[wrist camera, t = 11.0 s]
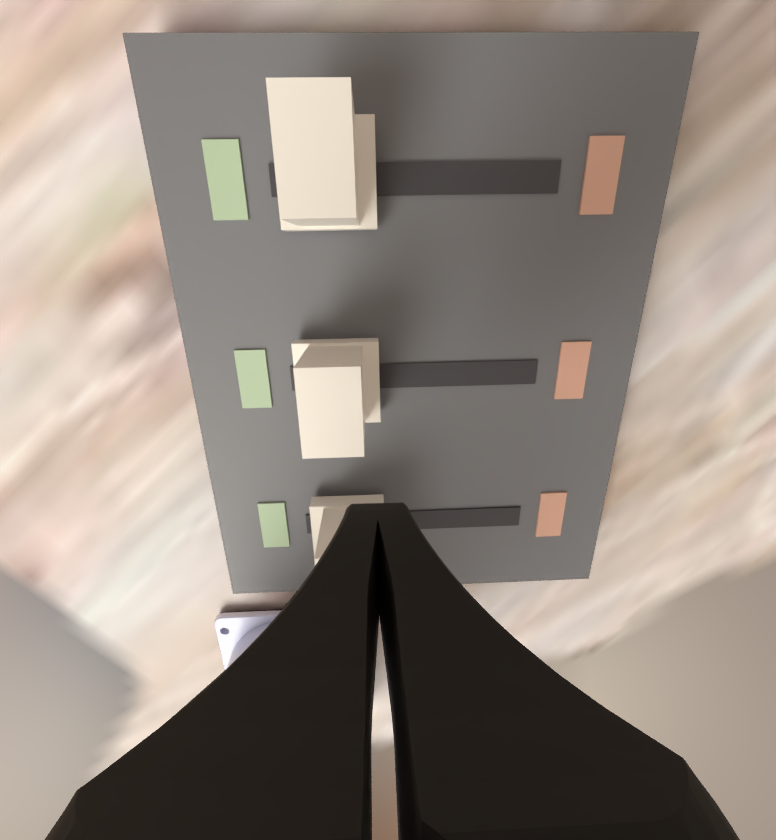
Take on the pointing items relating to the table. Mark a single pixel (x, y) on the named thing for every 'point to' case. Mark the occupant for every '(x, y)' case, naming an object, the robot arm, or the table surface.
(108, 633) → the table surface
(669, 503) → the table surface
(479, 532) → the switch panel
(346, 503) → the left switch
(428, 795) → the robot arm
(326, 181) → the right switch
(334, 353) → the switch
